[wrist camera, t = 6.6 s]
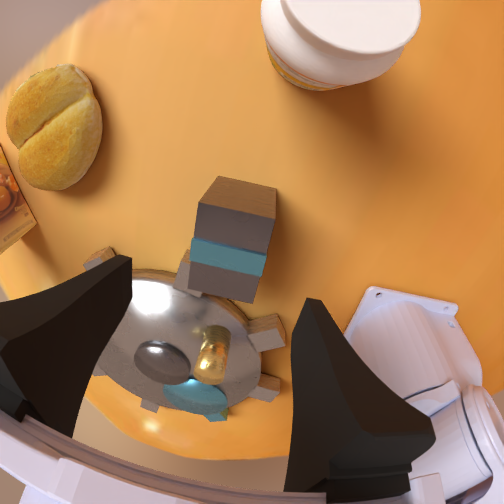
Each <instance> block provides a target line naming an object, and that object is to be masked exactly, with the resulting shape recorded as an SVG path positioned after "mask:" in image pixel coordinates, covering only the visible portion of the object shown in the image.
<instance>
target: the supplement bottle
mask: <svg viewBox="0 0 504 504" xmlns="http://www.w3.org/2000/svg"><path fill="white" fill-rule="evenodd" d="M420 19H421V7H420V2H419V0H262V4H261V22H262V28H263V32H264V36H265V40H266V45H267V50H268V54H269V57H270V60H271V62H272V64H273V66H274V67H275V69H276V70H277V71H278V73H279V74H280V75H281V76H283V77H284V78H285V79H286V80H288V81H289V82H291V83H292V84H294V85H296V86H298V87H301V88H304V89H308V90H314V91H326V90H332V89H336V88H340V87H344V86H349V85H353V84H358V83H362V82H365V81H368V80H371V79H374V78H376V77H378V76H380V75H382V74H383V73H385V72H386V71H387V70H389V69H390V68H391V67H392V66H393V65H394V64H395V62H396V61H397V60H398V58H399V57H400V55H401V53H402V51H403V49H404V46H405V45H406V44H407V43H408V42H409V41H410V40H411V39H412V38H413V36H414V35H415V33H416V32H417V30H418V27H419V24H420Z"/></svg>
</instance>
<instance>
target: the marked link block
mask: <svg viewBox="0 0 504 504" xmlns="http://www.w3.org/2000/svg"><path fill="white" fill-rule="evenodd" d="M275 220H276V189H275V188H271V187H267V186H263V185H258V184H254V183H249V182H245V181H240V180H236V179H231V178H226V177H221V176H218V177H217V178H216V180H215V181H214V182H213V184H212V185H211V186H210V188H209V189H208V190H207V192H206V193H205V194H204V196H203V197H202V198H201V200H200V201H199V203H198V210H197V216H196V223H195V231H194V238H192V241H191V249H190V257H189V261H191V262H190V271H189V279H188V289H191V290H195V291H199V292H203V293H207V294H212V295H216V296H220V297H225V298H229V299H233V300H238V301H242V302H247V303H252V304H253V300H254V297H255V293H256V289H257V286H258V282H259V279H260V277H261V276H262V272H263V269H264V265H265V262H266V258H267V254H266V253H267V249H268V246H269V242H270V238H271V234H272V231H273V227H274V223H275Z"/></svg>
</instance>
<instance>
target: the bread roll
mask: <svg viewBox="0 0 504 504" xmlns="http://www.w3.org/2000/svg"><path fill="white" fill-rule="evenodd" d="M6 128H7V134H8V136H9V138H10V140H11V141H12V143H13V144H14V145H15V146H16V147H17V148H18V149H19V168H20V172H21V174H22V176H23V177H24V179H25V180H26V181H27V182H28V183H29V184H30V185H32V186H33V187H35V188H38V189H41V190H48V191H58V190H63V189H66V188H68V187H70V186H71V185H73V184H75V183H76V182H78V181H79V180H80V179H81V178H82V177H83V176H84V175H85V173H86V172H87V171H88V169H89V167H90V166H91V164H92V163H93V161H94V159H95V157H96V154H97V151H98V148H99V146H100V142H101V137H102V131H103V122H102V114H101V109H100V105H99V103H98V101H97V99H96V98H95V96H94V94H93V89H92V85H91V83H90V81H89V79H88V77H87V76H86V75H85V74H84V73H83V71H81V70H80V69H79V68H77V67H76V66H75V65H73V64H61V65H57V66H56V67H54V68H49V69H46V70H44V71H41V72H38V73H36V74H34V75H32V76H30V78H29V79H28V80H27V81H25V82H24V83H23V84H22V85H21V86H20V87H18V88H17V90H16V92H15V94H14V95H13V97H12V99H11V101H10V104H9V107H8V111H7V117H6Z"/></svg>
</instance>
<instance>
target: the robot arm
mask: <svg viewBox="0 0 504 504" xmlns="http://www.w3.org/2000/svg"><path fill="white" fill-rule="evenodd" d="M377 293H380V294H379V295H376V294H377ZM132 298H133V288H132V258H131V257H127V256H123V255H117V256H114V257H112V258H110V259H108V260H107V261H105V262H103V263H101V264H99V265H97V266H95V267H93V268H92V269H90V270H88V271H86V272H84V273H82V274H80V275H78V276H76V277H74V278H72V279H70V280H68V281H66V282H64V283H62V284H59V285H57V286H55V287H52V288H50V289H47V290H44V291H42V292H39V293H36V294H32V295H29V296H26V297H22V298H19V299H15V300H10V301H6V302H0V467H1V468H2V469H4V470H5V471H6V472H8V473H9V474H11V475H12V476H13V477H15V478H16V479H18V480H19V481H21V482H23V483H24V484H26V487H25V489H24V492H23V495H22V497H21V500H20V503H19V504H504V420H503V418H502V416H501V414H500V412H499V410H498V408H497V406H496V404H495V402H494V401H493V399H492V397H491V396H490V394H489V393H488V392H487V390H486V389H485V388H484V387H482V368H481V364H480V361H479V359H478V357H477V355H476V354H475V352H474V350H473V348H472V346H471V344H470V343H469V341H468V339H467V337H466V336H465V334H464V332H463V330H462V329H461V327H460V325H459V324H458V322H457V320H456V319H455V317H454V315H455V314H456V312H457V311H458V306H457V304H456V303H451V302H447V301H442V300H437V299H432V298H428V297H423V296H418V295H414V294H409V293H404V292H400V291H395V290H390V289H386V288H381V287H376V286H371V287H369V288H368V289H367V290H366V292H365V294H364V296H363V298H362V300H361V302H360V304H359V306H358V308H357V310H356V312H355V314H354V316H353V318H352V319H351V321H350V323H349V325H348V327H347V329H346V331H345V332H344V334H342V332H341V331H340V329H339V328H338V326H337V325H336V323H335V321H334V320H333V318H332V317H331V315H330V313H329V312H328V310H327V309H326V307H325V305H324V304H323V302H322V301H321V300H316V299H311V298H306V301H305V303H304V306H303V308H302V311H301V313H300V316H299V318H298V321H297V323H296V325H295V328H294V330H293V333H292V341H291V370H292V386H293V423H292V435H291V445H290V453H289V460H288V468H287V474H286V480H285V485H284V491H283V492H277V491H276V492H275V491H263V490H253V489H245V488H237V487H230V486H223V485H218V484H212V483H207V482H201V481H197V480H191V479H187V478H183V477H179V476H175V475H171V474H167V473H164V472H160V471H156V470H153V469H149V468H146V467H143V466H140V465H137V464H134V463H131V462H128V461H125V460H122V459H120V458H117V457H114V456H111V455H109V454H106V453H104V452H101V451H99V450H96V449H94V448H92V447H89V446H87V445H85V444H82V443H80V442H78V441H76V440H74V439H72V436H73V432H74V428H75V424H76V420H77V416H78V413H79V409H80V406H81V403H82V400H83V397H84V394H85V391H86V388H87V385H88V383H89V380H90V378H91V375H92V373H93V370H94V368H95V366H96V363H97V361H98V359H99V357H100V355H101V354H102V352H103V350H104V349H105V347H106V345H107V344H108V342H109V340H110V339H111V337H112V335H113V334H114V332H115V330H116V329H117V327H118V325H119V324H120V322H121V321H122V319H123V317H124V315H125V313H126V311H127V309H128V307H129V304H130V302H131V300H132ZM445 307H446V308H445Z"/></svg>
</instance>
